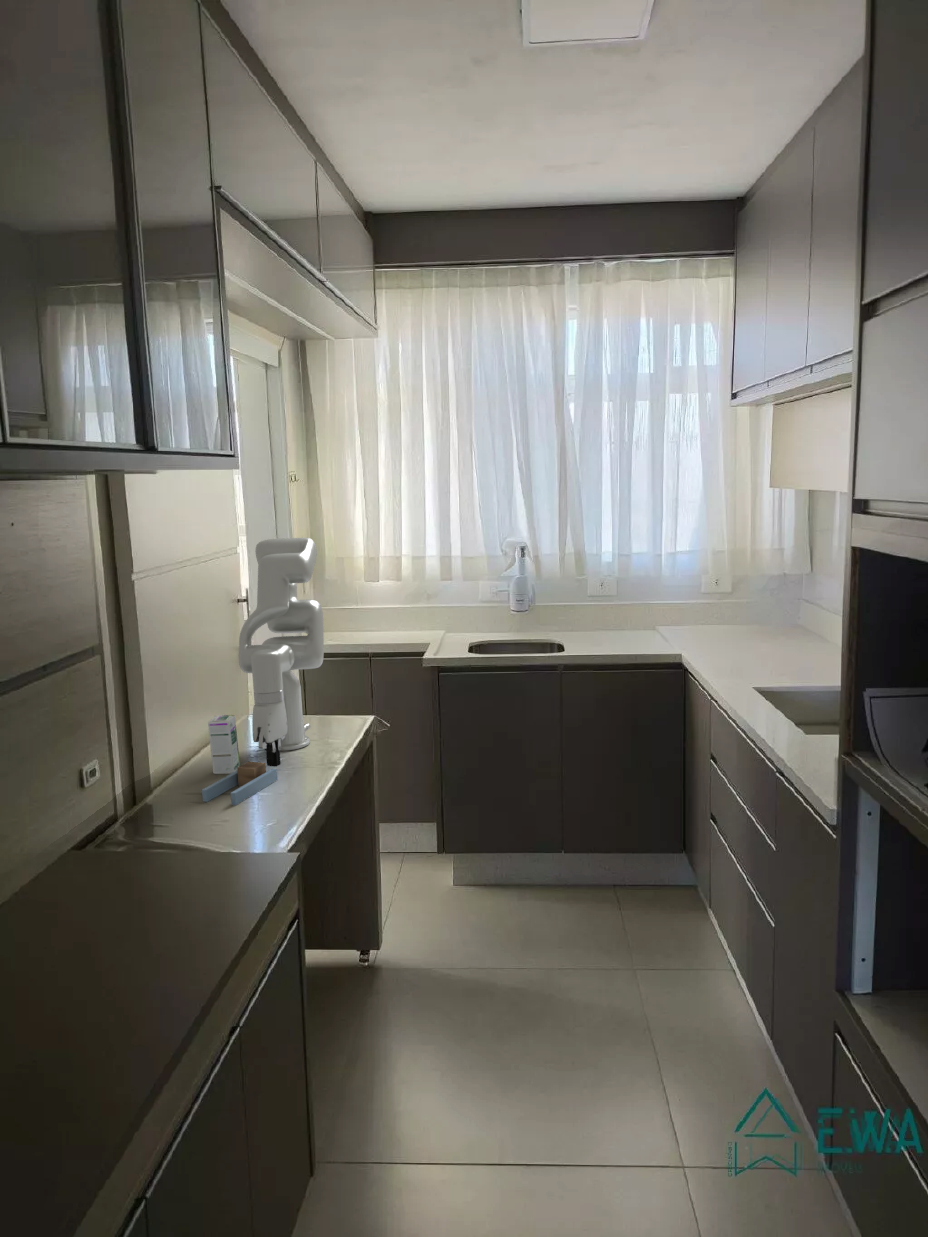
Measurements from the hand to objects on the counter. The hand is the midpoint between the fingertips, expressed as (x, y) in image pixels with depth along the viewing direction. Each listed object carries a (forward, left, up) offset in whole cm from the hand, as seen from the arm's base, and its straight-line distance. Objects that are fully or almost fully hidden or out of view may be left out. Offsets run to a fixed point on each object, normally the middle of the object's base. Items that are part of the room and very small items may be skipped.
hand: (273, 765), depth 235 cm
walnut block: (+10, 0, -2) cm, 10 cm away
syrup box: (+3, -13, -2) cm, 14 cm away
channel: (+15, 0, -2) cm, 15 cm away
